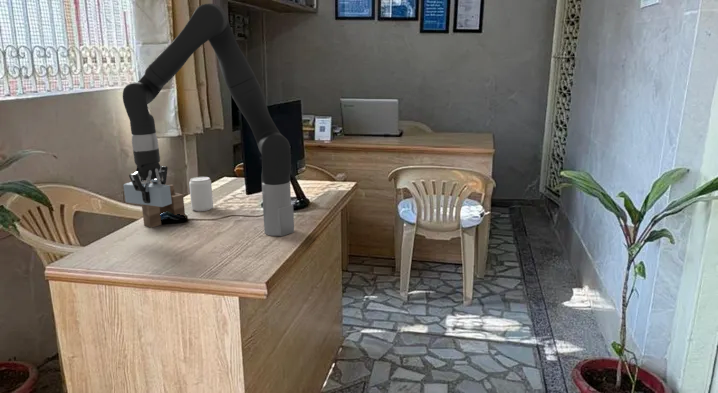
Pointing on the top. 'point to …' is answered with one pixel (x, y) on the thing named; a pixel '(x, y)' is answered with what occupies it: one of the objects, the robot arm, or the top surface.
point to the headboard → (163, 209)
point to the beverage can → (201, 193)
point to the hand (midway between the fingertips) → (152, 200)
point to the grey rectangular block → (157, 193)
